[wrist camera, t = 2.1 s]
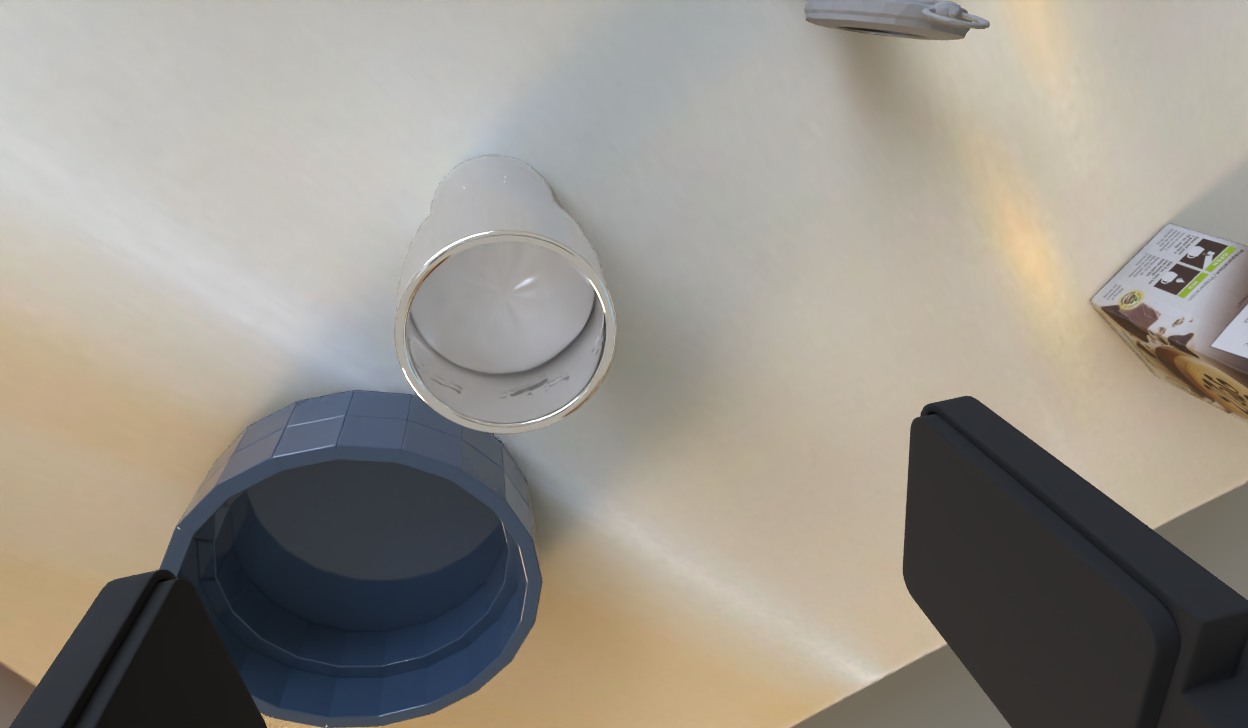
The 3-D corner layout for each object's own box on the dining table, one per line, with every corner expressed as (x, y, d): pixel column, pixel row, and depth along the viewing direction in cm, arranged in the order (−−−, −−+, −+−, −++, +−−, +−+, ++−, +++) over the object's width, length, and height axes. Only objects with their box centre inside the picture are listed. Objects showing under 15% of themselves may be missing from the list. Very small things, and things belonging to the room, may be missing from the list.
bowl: (267, 671, 43) (238, 761, 38) (147, 423, 36) (89, 493, 30) (554, 605, 45) (565, 681, 40) (499, 356, 38) (504, 411, 32)
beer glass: (594, 233, 36) (666, 355, 22) (483, 314, 36) (490, 478, 23) (507, 113, 33) (532, 171, 19) (388, 203, 33) (332, 321, 20)
